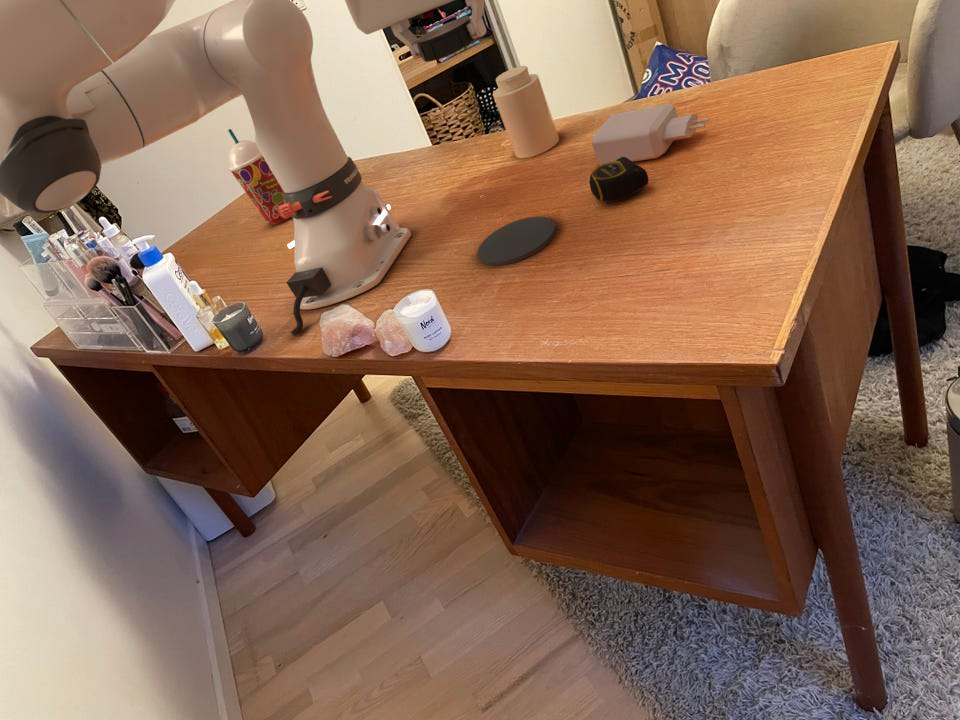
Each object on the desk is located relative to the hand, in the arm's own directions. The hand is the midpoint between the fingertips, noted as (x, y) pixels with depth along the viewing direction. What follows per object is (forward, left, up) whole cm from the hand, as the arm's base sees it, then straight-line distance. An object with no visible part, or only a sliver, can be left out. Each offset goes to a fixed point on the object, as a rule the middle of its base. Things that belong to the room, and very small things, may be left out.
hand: (449, 46), depth 82 cm
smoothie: (+41, +55, -25) cm, 74 cm away
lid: (0, 0, +2) cm, 2 cm away
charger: (+11, -21, -25) cm, 34 cm away
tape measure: (0, -15, -25) cm, 29 cm away
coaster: (-5, 0, -25) cm, 25 cm away
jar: (+29, -2, -25) cm, 39 cm away
